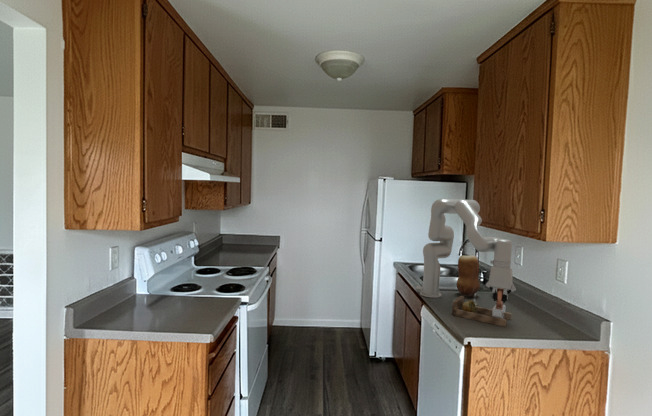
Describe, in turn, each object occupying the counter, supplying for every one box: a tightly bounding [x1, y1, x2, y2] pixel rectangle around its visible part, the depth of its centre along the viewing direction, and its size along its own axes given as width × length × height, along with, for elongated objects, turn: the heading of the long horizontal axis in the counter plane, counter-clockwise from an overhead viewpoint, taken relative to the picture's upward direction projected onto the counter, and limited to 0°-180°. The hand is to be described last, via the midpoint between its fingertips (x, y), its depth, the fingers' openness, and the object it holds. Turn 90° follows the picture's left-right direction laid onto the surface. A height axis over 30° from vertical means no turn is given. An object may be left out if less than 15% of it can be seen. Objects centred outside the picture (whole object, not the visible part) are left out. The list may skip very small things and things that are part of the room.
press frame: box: [451, 295, 512, 328], centre depth 190 cm, size 25×14×7 cm, turn 55°
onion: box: [461, 299, 479, 313], centre depth 193 cm, size 8×8×8 cm
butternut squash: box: [456, 255, 481, 298], centre depth 228 cm, size 14×13×25 cm
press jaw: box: [492, 288, 506, 319], centre depth 185 cm, size 4×10×15 cm, turn 145°
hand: (499, 301), depth 185 cm, fingers open, 3 cm apart
